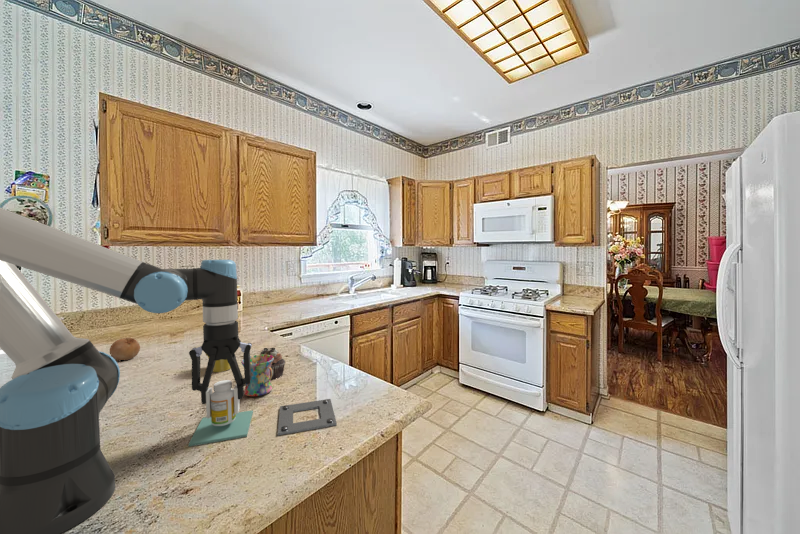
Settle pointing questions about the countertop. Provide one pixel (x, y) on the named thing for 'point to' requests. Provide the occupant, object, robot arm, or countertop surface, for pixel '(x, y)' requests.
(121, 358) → the brown oval lump
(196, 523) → the countertop surface
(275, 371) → the cupcake
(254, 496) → the countertop surface
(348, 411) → the countertop surface
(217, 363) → the plant pot
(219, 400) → the supplement bottle
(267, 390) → the mug
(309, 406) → the flange plate
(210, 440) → the mat
